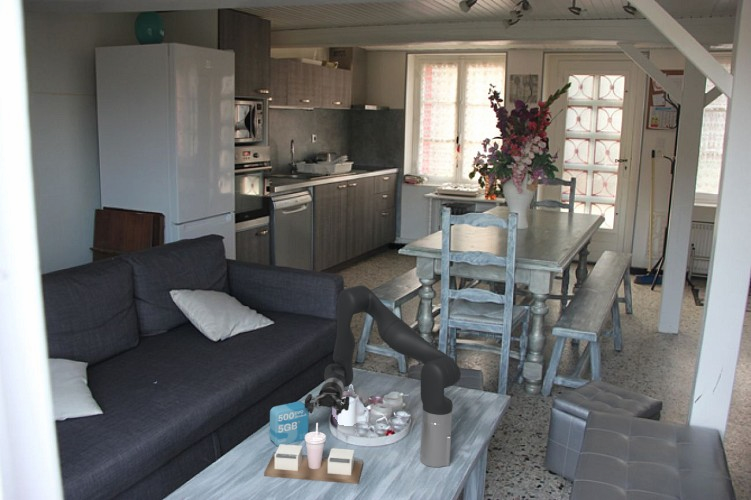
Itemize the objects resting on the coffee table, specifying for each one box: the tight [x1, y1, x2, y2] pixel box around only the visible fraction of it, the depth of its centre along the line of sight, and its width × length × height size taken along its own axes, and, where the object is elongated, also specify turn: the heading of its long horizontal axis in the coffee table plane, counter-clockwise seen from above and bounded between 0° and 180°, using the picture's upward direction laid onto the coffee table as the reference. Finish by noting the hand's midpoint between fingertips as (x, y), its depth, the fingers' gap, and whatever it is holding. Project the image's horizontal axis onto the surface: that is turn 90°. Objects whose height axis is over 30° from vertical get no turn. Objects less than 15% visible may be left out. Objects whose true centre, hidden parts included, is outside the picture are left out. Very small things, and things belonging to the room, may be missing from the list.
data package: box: [269, 400, 310, 447], centre depth 227 cm, size 12×4×12 cm, turn 123°
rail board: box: [263, 444, 364, 485], centre depth 209 cm, size 28×12×6 cm, turn 85°
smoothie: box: [304, 422, 327, 469], centre depth 208 cm, size 6×6×14 cm
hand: (323, 411), depth 219 cm, fingers open, 8 cm apart
